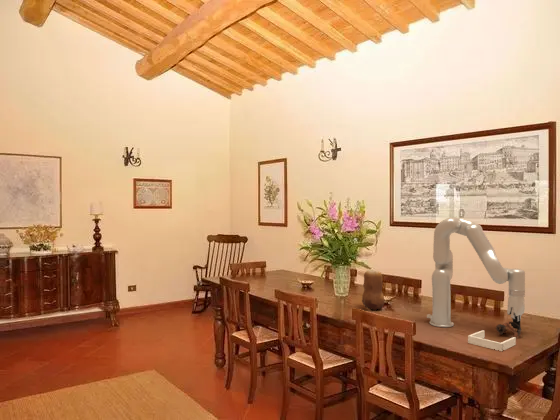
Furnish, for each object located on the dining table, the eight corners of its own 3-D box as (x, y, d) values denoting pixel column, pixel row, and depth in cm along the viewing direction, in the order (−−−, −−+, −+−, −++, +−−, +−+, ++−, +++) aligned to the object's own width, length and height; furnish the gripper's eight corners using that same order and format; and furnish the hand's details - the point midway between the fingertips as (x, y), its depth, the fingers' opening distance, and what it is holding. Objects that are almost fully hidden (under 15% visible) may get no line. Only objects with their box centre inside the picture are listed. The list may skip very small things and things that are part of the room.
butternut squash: (382, 307, 290) (382, 268, 290) (385, 312, 277) (385, 271, 276) (361, 306, 291) (361, 268, 291) (363, 311, 278) (363, 271, 278)
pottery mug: (508, 333, 233) (517, 321, 230) (518, 346, 225) (527, 334, 222) (488, 328, 231) (497, 316, 228) (497, 341, 223) (506, 329, 219)
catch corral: (468, 343, 215) (468, 335, 215) (482, 337, 225) (482, 330, 225) (501, 351, 203) (501, 343, 203) (515, 344, 212) (515, 337, 212)
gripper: (515, 290, 238) (515, 324, 239) (502, 293, 229) (502, 329, 229) (530, 292, 233) (530, 327, 233) (518, 296, 223) (517, 332, 223)
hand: (516, 328), depth 231 cm, fingers closed
